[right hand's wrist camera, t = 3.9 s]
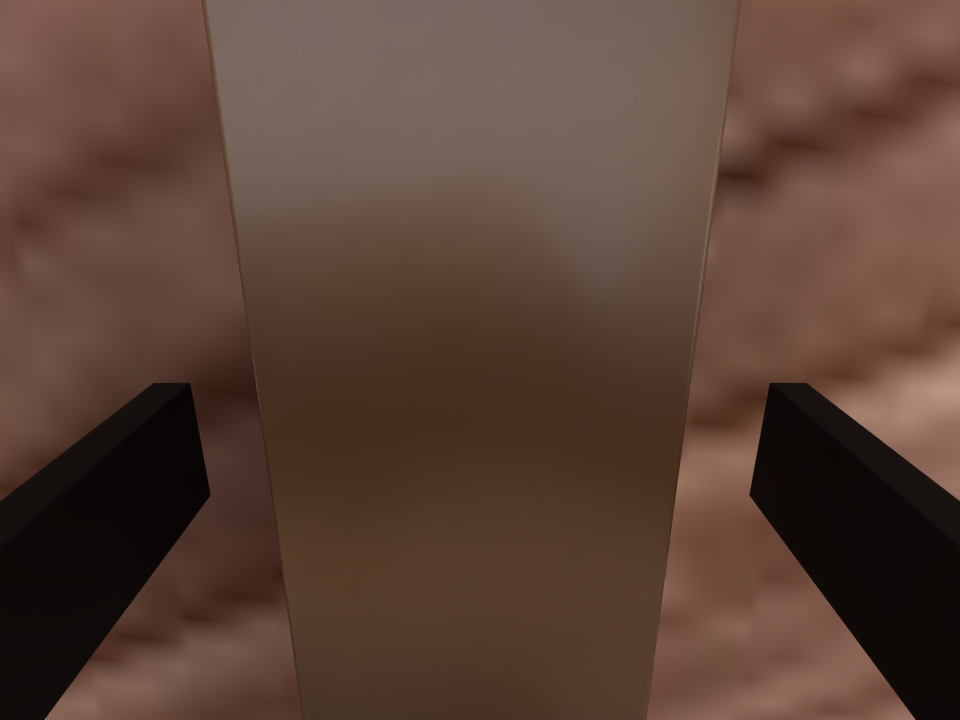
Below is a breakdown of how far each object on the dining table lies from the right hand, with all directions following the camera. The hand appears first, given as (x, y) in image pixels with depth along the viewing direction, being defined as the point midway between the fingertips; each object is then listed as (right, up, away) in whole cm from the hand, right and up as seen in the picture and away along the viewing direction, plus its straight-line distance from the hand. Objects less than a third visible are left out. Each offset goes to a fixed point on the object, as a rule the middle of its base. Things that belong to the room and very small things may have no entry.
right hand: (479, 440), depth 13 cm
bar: (0, -19, +10) cm, 22 cm away
